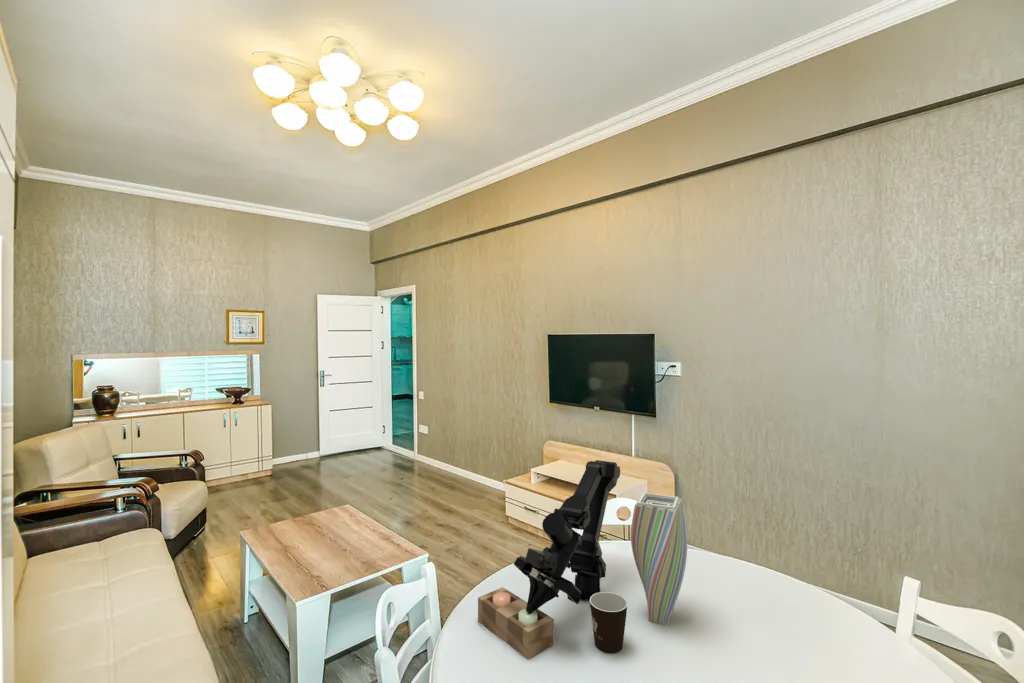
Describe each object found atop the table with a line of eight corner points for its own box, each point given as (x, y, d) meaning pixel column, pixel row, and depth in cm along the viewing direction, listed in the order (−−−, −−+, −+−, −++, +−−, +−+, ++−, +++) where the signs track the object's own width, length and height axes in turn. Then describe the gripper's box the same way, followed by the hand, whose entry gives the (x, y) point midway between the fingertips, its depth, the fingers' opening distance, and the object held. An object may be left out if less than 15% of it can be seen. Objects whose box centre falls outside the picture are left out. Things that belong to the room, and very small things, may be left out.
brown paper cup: (628, 659, 104) (628, 613, 104) (589, 654, 106) (588, 609, 106) (626, 628, 115) (626, 587, 115) (590, 624, 117) (590, 584, 117)
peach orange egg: (503, 609, 121) (502, 590, 121) (514, 617, 117) (513, 597, 117) (489, 616, 118) (489, 596, 118) (500, 624, 115) (500, 603, 115)
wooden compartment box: (502, 610, 124) (502, 587, 124) (553, 644, 109) (553, 618, 109) (478, 621, 119) (478, 597, 119) (528, 659, 104) (528, 632, 104)
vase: (689, 610, 123) (688, 495, 124) (685, 639, 111) (684, 511, 111) (637, 598, 129) (636, 489, 129) (627, 625, 117) (626, 504, 117)
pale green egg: (528, 627, 113) (528, 606, 113) (541, 636, 110) (541, 614, 110) (514, 634, 110) (514, 613, 110) (527, 643, 107) (527, 621, 107)
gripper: (519, 524, 121) (484, 580, 114) (572, 547, 107) (537, 614, 99) (541, 546, 126) (509, 602, 119) (595, 571, 112) (563, 637, 104)
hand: (527, 612), depth 110 cm, fingers closed, pressing on pale green egg
